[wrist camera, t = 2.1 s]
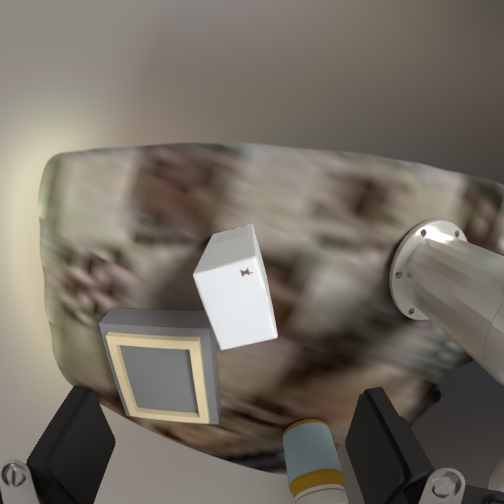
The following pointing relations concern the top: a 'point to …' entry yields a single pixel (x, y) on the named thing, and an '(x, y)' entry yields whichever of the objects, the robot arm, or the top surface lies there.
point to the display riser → (163, 363)
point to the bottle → (313, 464)
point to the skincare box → (235, 289)
